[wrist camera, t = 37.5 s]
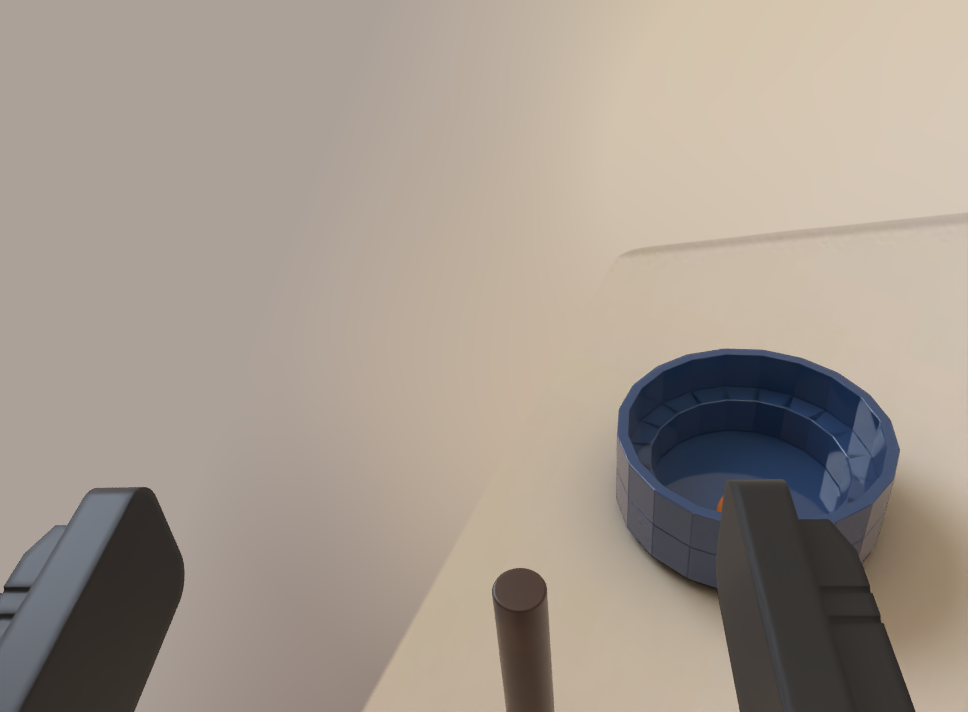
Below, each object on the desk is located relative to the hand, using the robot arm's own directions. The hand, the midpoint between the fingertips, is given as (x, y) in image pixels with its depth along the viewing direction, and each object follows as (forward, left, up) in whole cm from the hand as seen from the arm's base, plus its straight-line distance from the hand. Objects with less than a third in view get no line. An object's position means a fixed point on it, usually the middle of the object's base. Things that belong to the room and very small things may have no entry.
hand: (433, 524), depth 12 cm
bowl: (+24, +18, -28) cm, 41 cm away
